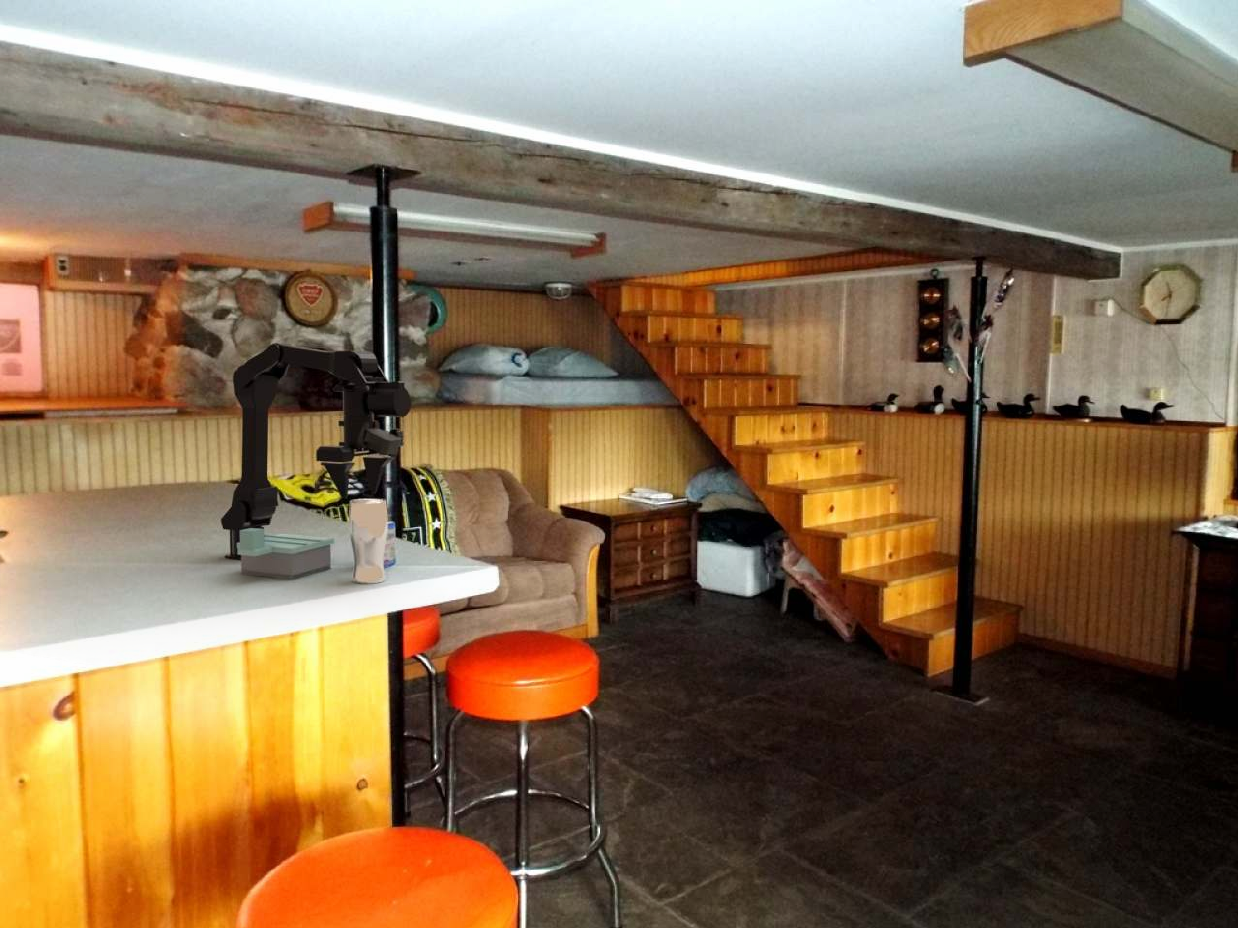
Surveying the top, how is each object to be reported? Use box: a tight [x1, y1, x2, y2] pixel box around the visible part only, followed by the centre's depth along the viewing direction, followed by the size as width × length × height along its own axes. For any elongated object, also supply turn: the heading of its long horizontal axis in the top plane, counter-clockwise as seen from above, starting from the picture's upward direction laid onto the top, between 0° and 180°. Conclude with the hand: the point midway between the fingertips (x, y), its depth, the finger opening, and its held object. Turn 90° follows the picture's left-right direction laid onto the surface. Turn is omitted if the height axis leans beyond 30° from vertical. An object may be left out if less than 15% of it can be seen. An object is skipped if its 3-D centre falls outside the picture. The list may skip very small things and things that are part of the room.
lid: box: [237, 528, 335, 556], centre depth 176 cm, size 13×17×4 cm
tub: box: [240, 544, 332, 581], centre depth 178 cm, size 12×11×5 cm
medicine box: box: [383, 521, 397, 569], centre depth 184 cm, size 8×4×9 cm, turn 168°
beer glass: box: [348, 497, 389, 585], centre depth 171 cm, size 7×7×15 cm
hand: (359, 495), depth 180 cm, fingers open, 9 cm apart
